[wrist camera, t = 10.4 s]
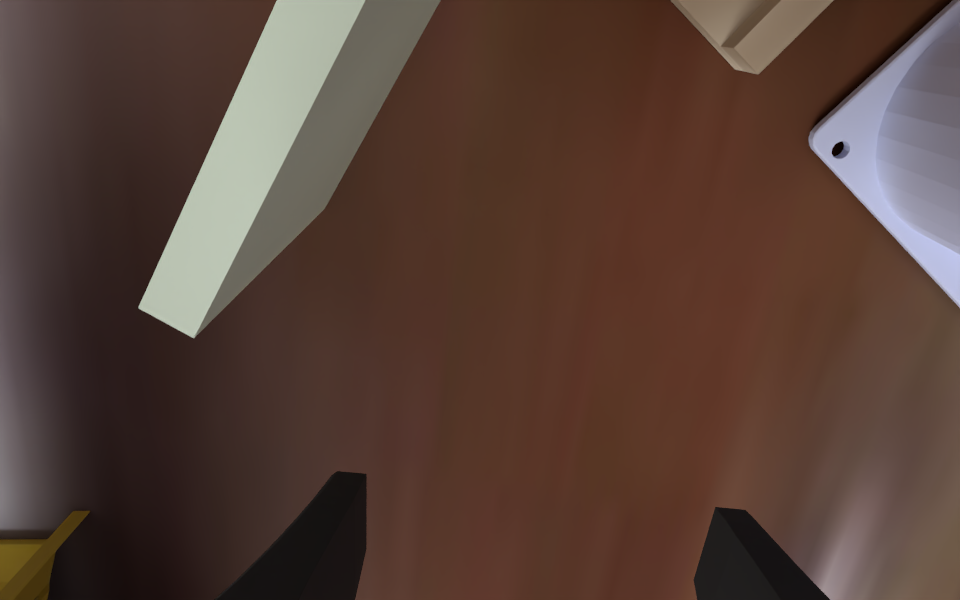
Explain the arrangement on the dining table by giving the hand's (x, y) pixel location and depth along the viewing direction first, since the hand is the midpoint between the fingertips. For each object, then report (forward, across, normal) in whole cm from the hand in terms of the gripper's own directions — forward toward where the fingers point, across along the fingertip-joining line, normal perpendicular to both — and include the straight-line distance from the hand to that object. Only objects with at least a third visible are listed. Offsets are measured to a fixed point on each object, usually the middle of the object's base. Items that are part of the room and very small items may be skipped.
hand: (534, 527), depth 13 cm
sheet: (+10, +6, -7) cm, 14 cm away
